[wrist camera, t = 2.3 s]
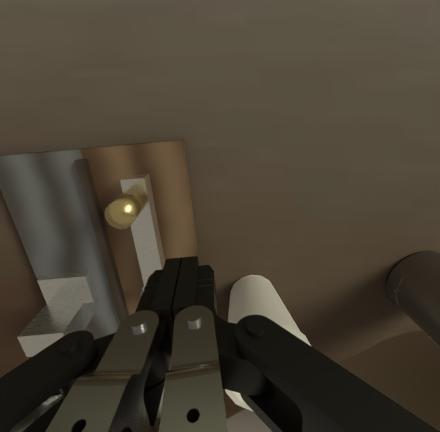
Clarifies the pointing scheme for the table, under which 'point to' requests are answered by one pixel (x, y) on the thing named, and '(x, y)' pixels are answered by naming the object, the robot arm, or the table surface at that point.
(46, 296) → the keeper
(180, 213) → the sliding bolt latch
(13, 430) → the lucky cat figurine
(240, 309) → the foam cup
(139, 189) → the swing bar
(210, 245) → the table surface
